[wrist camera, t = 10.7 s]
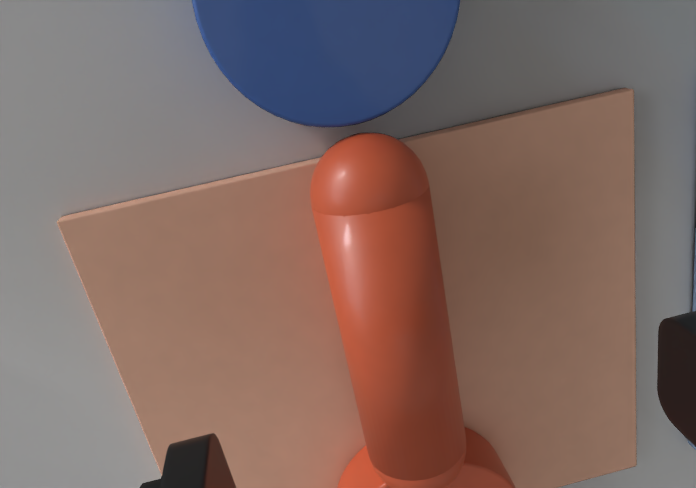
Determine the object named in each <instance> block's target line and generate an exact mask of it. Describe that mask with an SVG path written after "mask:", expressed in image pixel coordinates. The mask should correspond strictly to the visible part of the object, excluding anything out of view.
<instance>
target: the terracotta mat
mask: <svg viewBox="0 0 696 488" xmlns="http://www.w3.org/2000/svg"><path fill="white" fill-rule="evenodd" d="M399 141H401V142H403V143H404V144H406V145H407V146H408V147H409V148H410V149H412V150H413V152H414V153H415V154H416V155H417V157H418V158H419V159H420V161H421V162H422V164H423V167H424V169H425V171H426V173H427V177H428V181H429V187H430V193H431V200H432V207H433V214H434V221H435V228H436V235H437V242H438V249H439V256H440V262H441V269H442V276H443V283H444V290H445V297H446V304H447V311H448V318H449V324H450V331H451V338H452V345H453V352H454V359H455V366H456V373H457V380H458V386H459V393H460V400H461V407H462V414H463V421H464V427H466V428H469V429H471V430H473V431H474V432H476V433H478V434H479V435H481V436H482V437H483V438H485V439H486V440H487V441H488V442H489V443H490V444H491V445H492V447H493V448H494V449H495V451H496V453H497V454H498V456H499V458H500V460H501V461H502V463H503V465H504V467H505V469H506V471H507V472H508V474H509V476H510V478H511V480H512V481H513V483H514V485H515V487H516V488H557V487H561V486H565V485H568V484H572V483H576V482H579V481H583V480H587V479H590V478H594V477H598V476H601V475H605V474H609V473H612V472H616V471H620V470H624V469H627V468H631V467H635V466H636V323H635V180H634V90H633V89H628V88H622V89H617V90H613V91H609V92H604V93H600V94H595V95H591V96H587V97H582V98H578V99H574V100H569V101H565V102H560V103H556V104H552V105H547V106H543V107H539V108H534V109H530V110H525V111H521V112H517V113H512V114H508V115H504V116H499V117H495V118H490V119H486V120H482V121H477V122H473V123H469V124H464V125H460V126H455V127H451V128H447V129H442V130H438V131H434V132H429V133H425V134H420V135H416V136H412V137H407V138H403V139H399ZM320 159H321V157H320V158H315V159H311V160H307V161H302V162H298V163H293V164H289V165H285V166H280V167H276V168H272V169H267V170H263V171H258V172H254V173H250V174H245V175H241V176H237V177H232V178H228V179H223V180H219V181H215V182H210V183H206V184H202V185H197V186H193V187H188V188H184V189H180V190H175V191H171V192H167V193H162V194H158V195H153V196H149V197H145V198H140V199H136V200H132V201H127V202H123V203H118V204H114V205H110V206H105V207H101V208H97V209H92V210H88V211H83V212H79V213H75V214H70V215H66V216H62V217H61V218H60V219H59V220H58V221H57V224H58V226H59V229H60V231H61V234H62V236H63V238H64V241H65V243H66V246H67V248H68V250H69V253H70V255H71V258H72V260H73V263H74V265H75V267H76V270H77V272H78V275H79V277H80V279H81V282H82V284H83V287H84V289H85V291H86V294H87V296H88V299H89V301H90V304H91V306H92V308H93V311H94V313H95V316H96V318H97V320H98V323H99V325H100V328H101V330H102V332H103V335H104V337H105V340H106V342H107V345H108V347H109V349H110V352H111V354H112V357H113V359H114V361H115V364H116V366H117V369H118V371H119V373H120V376H121V378H122V381H123V383H124V386H125V388H126V390H127V393H128V395H129V398H130V400H131V402H132V405H133V407H134V410H135V412H136V414H137V417H138V419H139V422H140V424H141V427H142V429H143V431H144V434H145V436H146V439H147V441H148V443H149V446H150V448H151V451H152V453H153V456H154V458H155V460H156V463H157V465H158V468H159V470H160V472H161V475H162V472H163V467H164V463H165V458H166V453H167V449H168V447H169V445H170V444H172V443H176V442H179V441H183V440H187V439H191V438H195V437H199V436H203V435H207V434H211V433H214V434H216V436H217V437H218V439H219V442H220V444H221V447H222V450H223V453H224V455H225V458H226V461H227V464H228V466H229V469H230V472H231V475H232V477H233V480H234V483H235V485H236V488H337V487H338V484H339V481H340V478H341V476H342V474H343V472H344V470H345V468H346V467H347V465H348V464H349V462H350V461H351V460H352V459H353V457H354V456H355V455H356V454H357V453H358V452H359V451H360V450H361V449H362V448H363V447H364V446H366V442H365V438H364V434H363V429H362V425H361V421H360V416H359V412H358V408H357V403H356V399H355V394H354V390H353V386H352V381H351V377H350V373H349V368H348V364H347V360H346V355H345V351H344V346H343V342H342V338H341V333H340V329H339V325H338V320H337V316H336V312H335V307H334V303H333V299H332V294H331V290H330V285H329V281H328V277H327V272H326V268H325V264H324V259H323V255H322V251H321V246H320V242H319V237H318V233H317V229H316V224H315V220H314V216H313V211H312V207H311V199H310V188H311V179H312V176H313V173H314V169H315V168H316V166H317V164H318V162H319V160H320Z"/></svg>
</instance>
